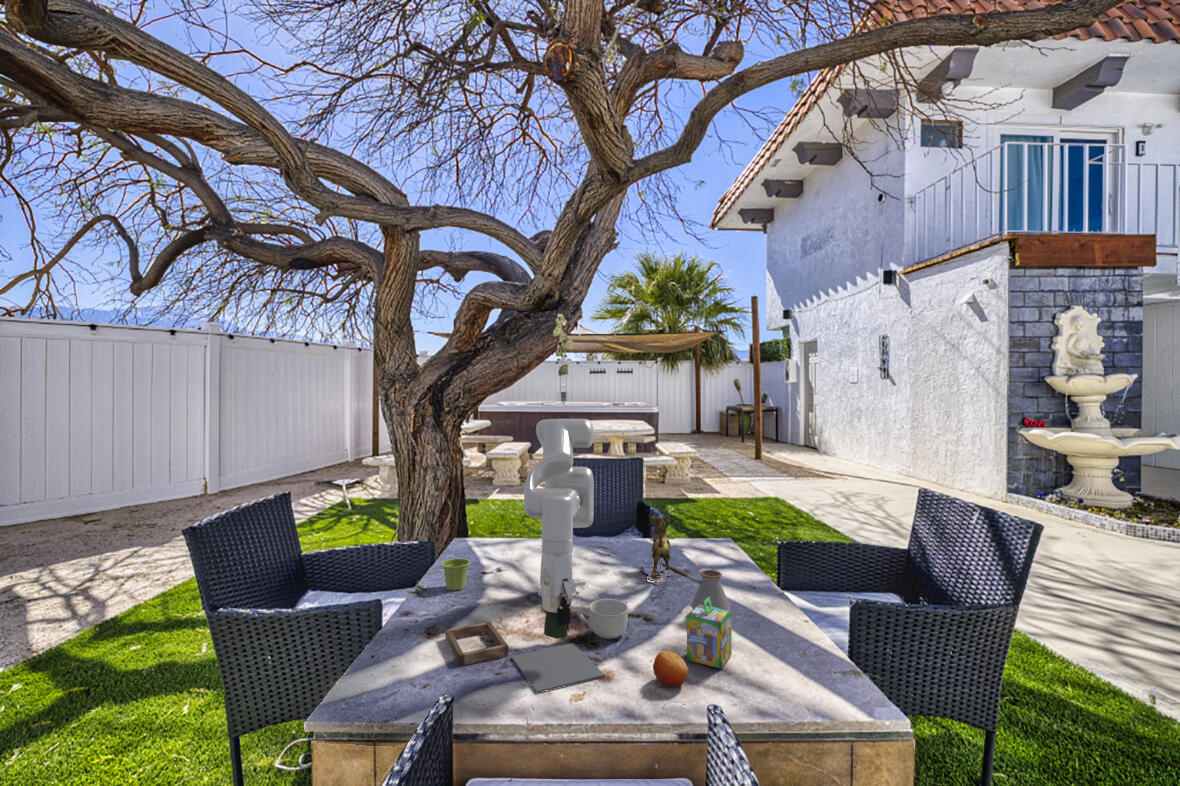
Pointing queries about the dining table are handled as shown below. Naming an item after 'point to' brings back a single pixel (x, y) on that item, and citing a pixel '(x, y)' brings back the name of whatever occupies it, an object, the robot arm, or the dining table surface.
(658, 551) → the figurine
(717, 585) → the coffee pot
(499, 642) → the collar
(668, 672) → the fruit
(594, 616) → the teacup
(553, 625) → the character mug
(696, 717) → the dining table surface
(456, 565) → the plant pot
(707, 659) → the chalk box
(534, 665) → the rubber mat
